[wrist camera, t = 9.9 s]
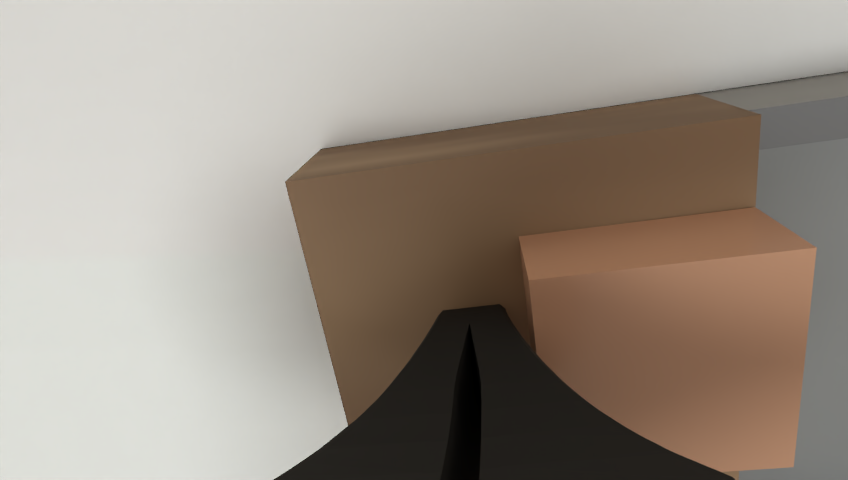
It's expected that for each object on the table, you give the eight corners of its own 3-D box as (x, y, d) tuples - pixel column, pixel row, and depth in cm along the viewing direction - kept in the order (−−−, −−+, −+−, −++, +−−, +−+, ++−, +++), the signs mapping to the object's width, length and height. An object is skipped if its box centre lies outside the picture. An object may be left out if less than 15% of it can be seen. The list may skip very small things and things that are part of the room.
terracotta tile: (743, 398, 12) (793, 467, 10) (537, 415, 13) (549, 483, 11) (755, 207, 10) (816, 247, 9) (518, 236, 11) (529, 280, 9)
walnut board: (687, 534, 18) (728, 630, 15) (412, 550, 19) (404, 642, 16) (695, 93, 13) (761, 114, 10) (321, 149, 14) (285, 182, 11)
